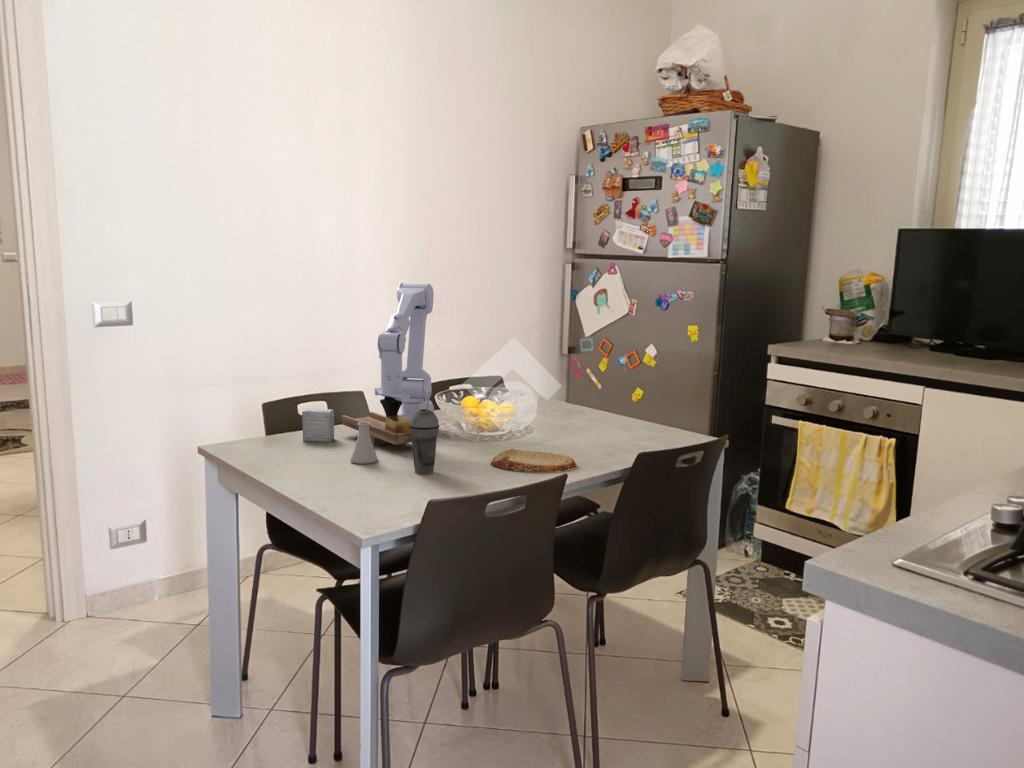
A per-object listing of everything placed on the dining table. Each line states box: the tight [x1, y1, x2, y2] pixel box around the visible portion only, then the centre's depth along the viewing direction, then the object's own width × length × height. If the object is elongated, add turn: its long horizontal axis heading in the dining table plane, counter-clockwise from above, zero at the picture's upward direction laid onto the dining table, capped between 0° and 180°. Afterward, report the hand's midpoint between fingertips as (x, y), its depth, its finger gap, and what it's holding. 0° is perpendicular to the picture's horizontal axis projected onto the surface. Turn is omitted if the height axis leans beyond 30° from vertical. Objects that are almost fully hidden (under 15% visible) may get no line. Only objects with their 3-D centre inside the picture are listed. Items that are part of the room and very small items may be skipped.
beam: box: [341, 411, 412, 445], centre depth 226 cm, size 10×28×3 cm, turn 41°
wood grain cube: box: [385, 413, 411, 434], centre depth 220 cm, size 5×5×4 cm
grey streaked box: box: [301, 408, 335, 443], centre depth 227 cm, size 8×4×9 cm, turn 84°
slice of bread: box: [490, 448, 578, 474], centre depth 204 cm, size 18×18×4 cm
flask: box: [350, 422, 379, 465], centre depth 205 cm, size 7×7×10 cm
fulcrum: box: [370, 435, 390, 446], centre depth 225 cm, size 8×2×3 cm, turn 131°
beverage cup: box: [409, 391, 440, 475], centre depth 194 cm, size 7×7×20 cm
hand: (391, 424), depth 222 cm, fingers closed, pressing on wood grain cube
